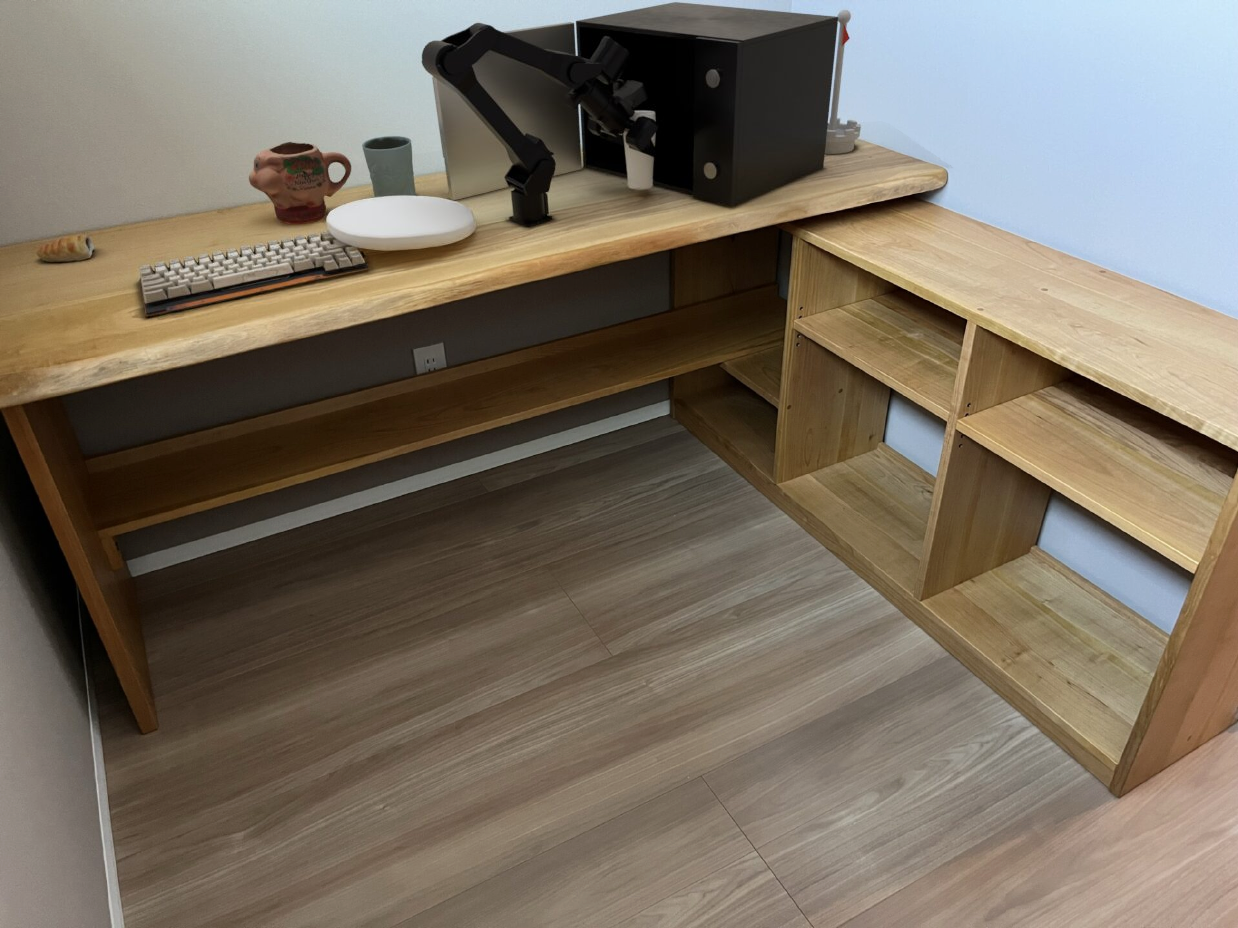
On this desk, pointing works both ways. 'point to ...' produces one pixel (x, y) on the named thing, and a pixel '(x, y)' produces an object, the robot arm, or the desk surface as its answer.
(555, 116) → the microwave door
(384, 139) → the green cup
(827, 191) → the desk surface
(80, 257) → the pastry
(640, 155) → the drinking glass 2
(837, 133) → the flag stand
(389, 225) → the white round disc
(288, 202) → the sculpted ceramic mug
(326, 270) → the mechanical keyboard
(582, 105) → the robot arm
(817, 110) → the microwave
